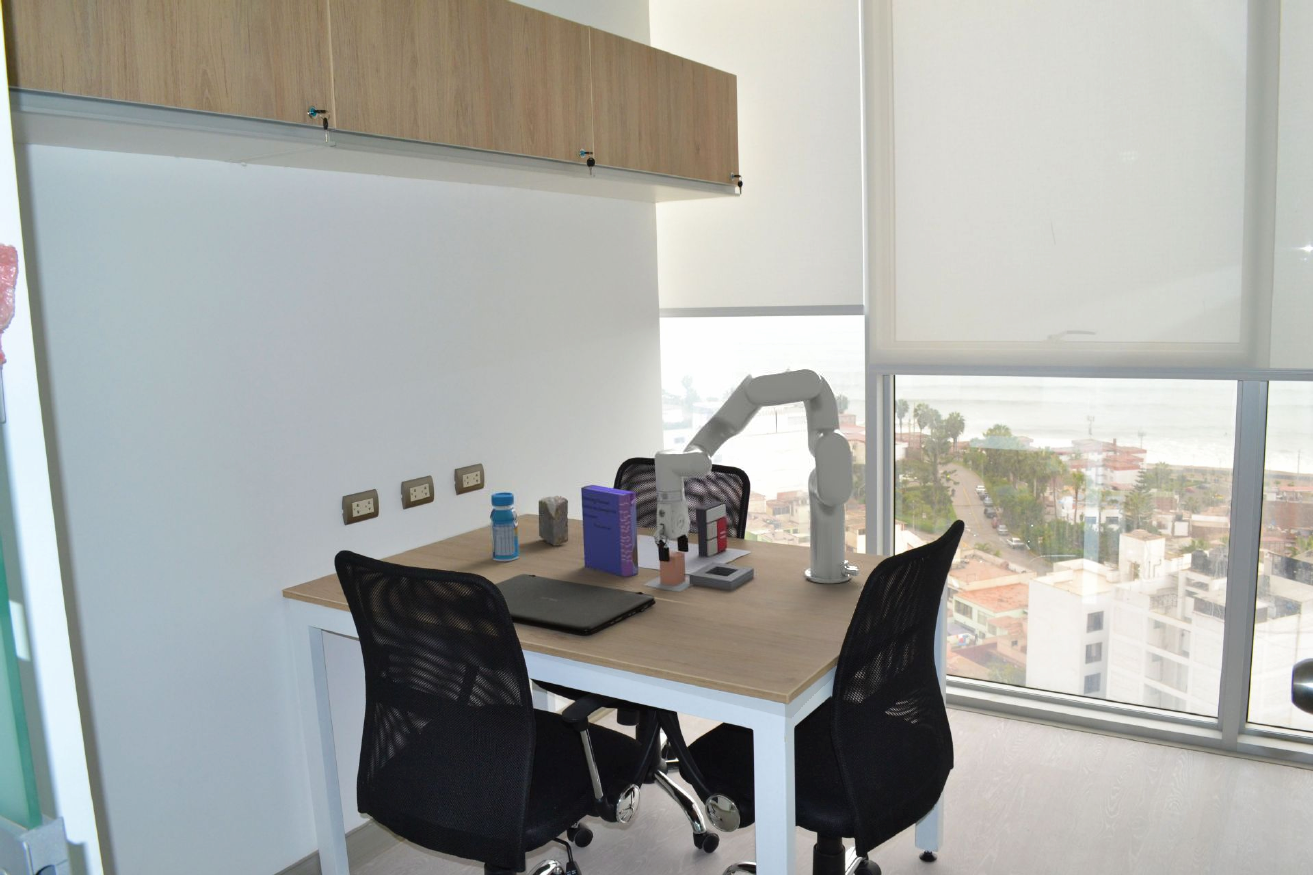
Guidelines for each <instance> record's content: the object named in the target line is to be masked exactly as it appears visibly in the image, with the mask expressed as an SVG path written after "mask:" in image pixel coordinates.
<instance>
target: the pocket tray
mask: <svg viewBox="0 0 1313 875" xmlns="http://www.w3.org/2000/svg"><path fill="white" fill-rule="evenodd" d="M754 575H755V572H754V568H753V567H747V566H741V565H735V564H728V563H721V562H715V561H712V562H710V563H709V564H706V565H705V566H702V567H701V568H699V569H697V570H695V571H694V572H691V573H689V574H688V577H689V581H690V583H693V584H694V585H696V586H697V585H698V586H703V587H708V588H715V589H719V590H721V589H722V590H725V591H733V590H734V589H736V588H738V587H740V586H741V585H743V584H744V583H746V582H748V581H750V580H751V579H754V578H755V576H754Z"/></svg>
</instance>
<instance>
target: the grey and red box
mask: <svg viewBox="0 0 1313 875" xmlns="http://www.w3.org/2000/svg"><path fill="white" fill-rule="evenodd" d="M726 507H727V506H726V502H724V501H717V500H716V501H715V500H714V501H712V502H710V503H706V504H704V505H702V506H698V507H696V508H695V521H696V523H697V541H698V542H697V543H698V546H697V547H698V556H700V557H704V556H705V558H706V557H711V556H714V554H715V555H716V553H717V554H719V553H721V551H722V552H723V550H724V551H725V550H727V549H728V539H727V538H728V536H727V535H728V534H727V517H726V515H727V512H726V510H727V508H726ZM718 552H719V553H718Z"/></svg>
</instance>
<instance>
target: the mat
mask: <svg viewBox="0 0 1313 875" xmlns="http://www.w3.org/2000/svg"><path fill="white" fill-rule="evenodd" d="M694 585H695V584H693V583H690V581H689V576H686V575H685V581H684V582H682V583H680V584H679V585H677V586H673V585H668V584H662V583H660V575H659V576H658V577H655V578H653V579H651V580H649V581H648V582H646V583H644V584H642V586H643V587H648V588H655V589H660V590H666V591H672V592H678V593H681V592H683V591H684V590H687V589H688V588H690V587H692V586H694Z"/></svg>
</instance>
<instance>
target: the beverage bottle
mask: <svg viewBox="0 0 1313 875" xmlns="http://www.w3.org/2000/svg"><path fill="white" fill-rule="evenodd" d="M490 498H491V502H490V503H491V506H492V507H493V508H492V510H491V511H490V516H489V519H490V521H491V522H490V524H489V528H490V531H491V532H490V534H491V548H492V549H491V550H492V555H491V556H492V559H493V560H494V561H496V562H511V561H515V560H518V559H519V557H520V549H519V548H520V546H519V531H518V529H519V522H518V520H517V518H518V513H517V511H516V509H515V508H514V504H515V497H514V493H512V492H496V493H492V494H491V497H490Z"/></svg>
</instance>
